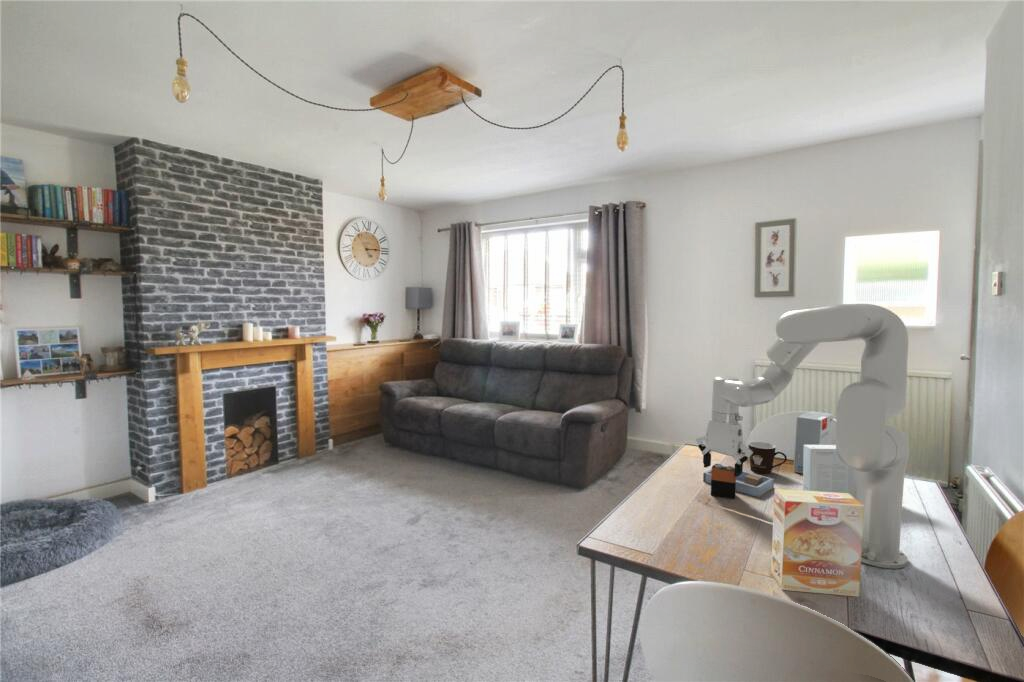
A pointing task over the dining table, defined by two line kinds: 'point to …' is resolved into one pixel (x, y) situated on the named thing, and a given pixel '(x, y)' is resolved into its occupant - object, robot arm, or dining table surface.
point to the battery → (723, 481)
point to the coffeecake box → (817, 542)
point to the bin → (746, 488)
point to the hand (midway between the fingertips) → (722, 470)
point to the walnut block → (753, 480)
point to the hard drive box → (811, 434)
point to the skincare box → (825, 470)
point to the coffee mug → (763, 457)
